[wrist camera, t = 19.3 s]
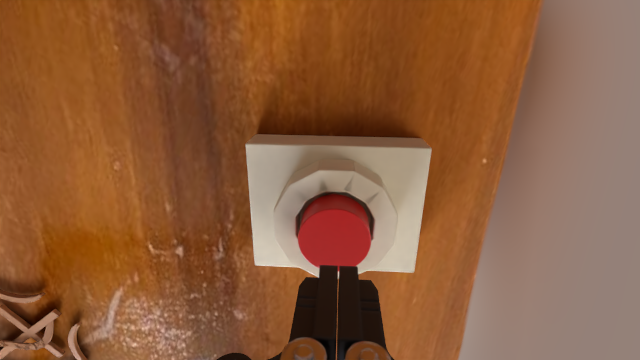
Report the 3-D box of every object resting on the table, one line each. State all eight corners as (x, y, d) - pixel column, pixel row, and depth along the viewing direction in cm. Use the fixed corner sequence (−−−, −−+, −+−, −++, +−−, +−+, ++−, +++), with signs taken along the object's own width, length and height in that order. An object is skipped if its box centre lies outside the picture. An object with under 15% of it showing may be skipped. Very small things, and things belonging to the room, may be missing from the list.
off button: (370, 194, 17) (373, 210, 15) (366, 253, 18) (368, 273, 16) (301, 192, 17) (297, 207, 15) (302, 251, 18) (298, 270, 17)
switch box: (422, 137, 19) (442, 158, 15) (407, 252, 22) (421, 293, 18) (254, 133, 19) (234, 152, 16) (262, 246, 22) (246, 284, 19)
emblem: (7, 263, 24) (-1, 269, 23) (112, 347, 27) (106, 354, 26) (-69, 330, 27) (-79, 337, 27) (31, 400, 30) (24, 407, 29)
